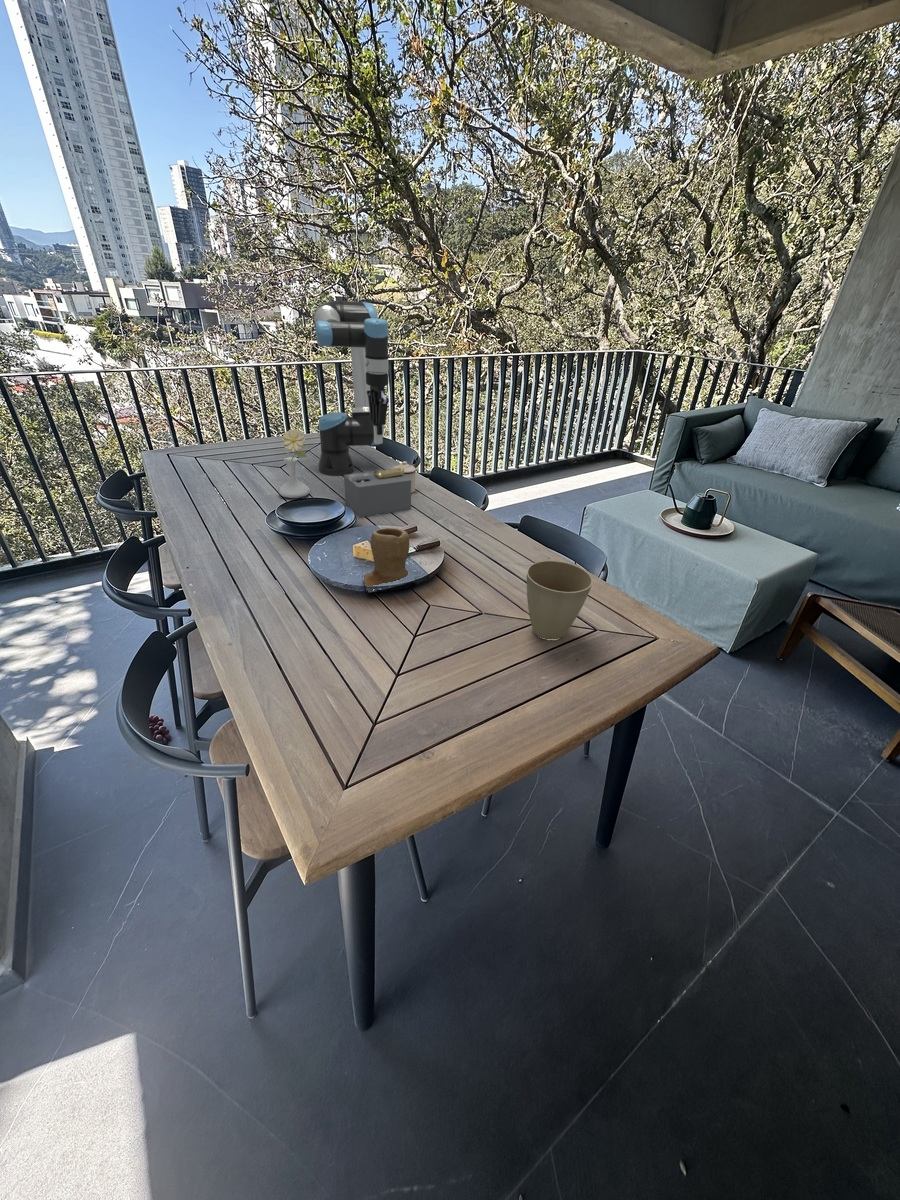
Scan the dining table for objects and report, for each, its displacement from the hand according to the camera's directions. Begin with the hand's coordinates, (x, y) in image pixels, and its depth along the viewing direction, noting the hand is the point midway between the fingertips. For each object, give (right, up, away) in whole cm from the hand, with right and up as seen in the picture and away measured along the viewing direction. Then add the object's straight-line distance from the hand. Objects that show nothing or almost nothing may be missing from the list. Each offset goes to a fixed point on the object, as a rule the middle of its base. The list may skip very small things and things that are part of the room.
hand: (378, 443), depth 179 cm
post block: (-1, -22, +5) cm, 23 cm away
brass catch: (+4, -11, +2) cm, 12 cm away
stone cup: (+8, -52, -41) cm, 66 cm away
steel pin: (-6, -22, +2) cm, 23 cm away
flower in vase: (-33, -17, +11) cm, 38 cm away
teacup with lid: (+6, -13, +21) cm, 25 cm away
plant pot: (+50, -64, -57) cm, 100 cm away
